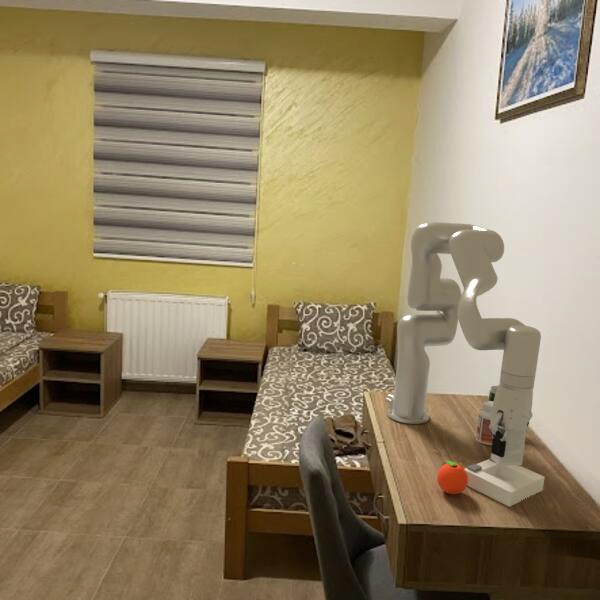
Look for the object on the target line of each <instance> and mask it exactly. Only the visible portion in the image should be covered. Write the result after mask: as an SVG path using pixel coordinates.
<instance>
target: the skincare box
mask: <svg viewBox="0 0 600 600" xmlns="http://www.w3.org/2000/svg"><path fill="white" fill-rule="evenodd" d="M527 422H528V417H527V416H524V417H522V418H521V421H520V423H519V425H518V427H517V428H514V429H511V430H509V431H508V433H507V436H506V438H505V440H504V441H506V448H505V455H504V457H499V456H497V455H495V454H492V453H491V454H490V458H491V459H492V460H493V461H494V462H495V463H496V464H498V465H499V466H510V465H519V466H522V465H523V458H524V451H525V444H526V437H527V432H526V430H527V431H528V426H527ZM500 426H503V427H505V425H504V423H500ZM499 431H500V433H501V434H502V433H503V430H502V429H499Z"/></svg>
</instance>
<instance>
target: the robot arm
mask: <svg viewBox="0 0 600 600" xmlns="http://www.w3.org/2000/svg"><path fill="white" fill-rule="evenodd" d="M410 241H411V242H410V250H411V269H410V275H409V282H408V286H407V287H408V289H407V297H406V298H407V301H406V302H407V304H408V306H409V307H410V309H412V310H415V311H420V312H424V311H425V312H435V311H436V313H412V314H407V315H404V316H403V317H401V318H400V319H399V321H398V323H397V327H396V328H397V330H396V332H397V360H396V362H397V363H396V372H395V382H394V393H393V395H392V394H387V396H386V397H385V398H384V402H385V403H387V404H390V405H389V407H388V408H387V410H386V415H387V416H388V417H389V418H390V419H392V420H393V421H396V422H398V423H402V424H403V423H404V424H410V425H420V424H424V423H427V422H428V421H429V419H430V414H429V413H428V411H426V402H427V400H426V399H427V393H428V383H429V376H430V374H429V373H430V365H431V363H430V362H431V361H430V358H429V356H428V353H427V352H426V350H425V348H426V347H438V346H443V347H444V346H448V345H450V344H451V343H453V341H454V339H455V337H456V333H457V330H458V329H457V328H458V324H459V326H460V328H461V331H462V334H463V335H464V338H465V340H466V342H467V343H468V345H469V346H470V347H471V348H472V349H474V350H477V351H493V350H494V351H495V350H496V351H498V350H499V351H501V350H503V354H502V362H501V367H500V368H501V369H500V377H499V384H497V386H498V388H497V391H496V394H495V398H494V402H493V407H492V412H491V418H490V423H491V424H490V425H489V429H490V431H491V434H492V438H493V441H492V445H491V449H490V450H491V451H490V452H491V453H492V454H495V455H497V456H499V457H504V455H505V448H506V441H504V440H505V438H506V436H507V433H508V431H509V430H511V429H514V428H517V427H518V425H519V423H520V421H521V418H522V417H524V416H527V417H528V422H527V427H529V425H530V421H531V419H532V417H533V411H532V410H533V400H534V399H533V398H534V397H533V396H534V392H533V391H534V386H535V380H536V373H537V367H538V360H539V354H540V353H539V352H540V347H541V346H540V345H541V341H542V334H541V332H540V331H539V329H538V328H536V327H532V326H530V325H529V326H528V325H525V324H524V323H523V322H521V321H520V320H518V319H515V318H511V317H503V318H502V317H489V318H487V317H486V318H483V317H482V315H481V313H480V311H479V308H478V305H477V298H478V297H479V296H482V295H484V294H486V293H487V292H488V291H490V290H492V289H493V288H494V287H495V286H496V285H497V283H498V275H497V273H496V270H495V268H494V266H493V264H492V263H496V262H498V261H500V260H501V259H502V257H503V256H504V253H505V243H504V240H503V238H502V236H501V235H500V234H499V233H498V232H497V231H495V230H493V229H489V228H485V227H481V226H479V225H478V226H477V225H475V224H471V223H456V222H455V223H454V222H453V223H451V222H437V221H436V222H433V221H432V222H425V223H422V224H420V225H417V227H416V228H415V229H414V231H413V232H412V235H411V239H410ZM439 254H443V255H444V254H445V255H446V254H447V255H450V256H451V258H452V260H453V263H454V265H455V268H456V271H457V273H458V276H459V279H460V281H461V284H462V286H463V291H461V287H460V285H459V284H458V281H456V280H454V279H452V278H441V274H442V270H443V269H442V268H443V267H442V261H441V258H440V256H439ZM500 423H504V425H505V427H503V426H500ZM499 429H502V430H503V433H502V434H501V433H500V431H499ZM527 432H528V429H527V430H526V433H527Z"/></svg>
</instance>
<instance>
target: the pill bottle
mask: <svg viewBox="0 0 600 600" xmlns="http://www.w3.org/2000/svg"><path fill="white" fill-rule="evenodd" d="M492 407H493V401H488V400H486V401H483V403H482V409H480V410H479V413H478V416H477V417H478V418H477V425H476V426H477V427H476V434H475V435H476V436H475V439H476V441H477V442H478V443H480V444H483V445H487V446H492V441H493V438H492V434H491V431H490V429H489V425H490V424H491V423H490V418H491V412H492Z"/></svg>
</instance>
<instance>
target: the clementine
mask: <svg viewBox="0 0 600 600" xmlns="http://www.w3.org/2000/svg"><path fill="white" fill-rule="evenodd" d="M445 463H446V464H445ZM464 469H465V468H464V467H463V466H462V465H460V464H458V463H455V462H453V461H450V460H447V461H444V462H442V466H441V467H440V468H439V470H438V472H437V476H436V480H437V484H438V486H439V488H440V489H441V490H442V491H443V492H445V493H447V494H449V495H459V494H460V493H462V492H464V491H465V489H466V488H467V483H468V476H467V473H466V471H465V470H464Z"/></svg>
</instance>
